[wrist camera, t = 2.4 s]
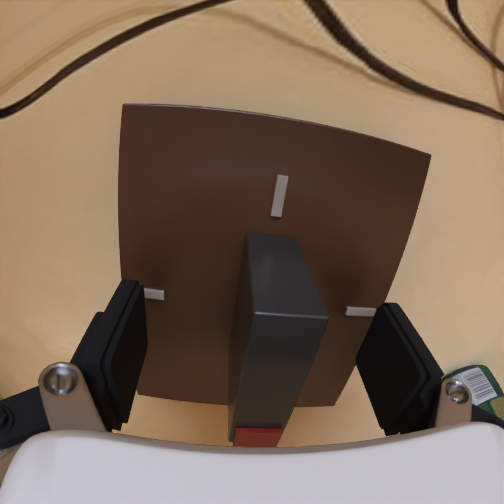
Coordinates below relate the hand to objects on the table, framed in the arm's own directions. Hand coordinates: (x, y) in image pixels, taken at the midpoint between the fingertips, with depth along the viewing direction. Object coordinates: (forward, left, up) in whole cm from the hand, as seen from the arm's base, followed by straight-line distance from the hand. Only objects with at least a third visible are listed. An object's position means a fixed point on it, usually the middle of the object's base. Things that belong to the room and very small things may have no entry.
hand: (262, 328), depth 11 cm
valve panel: (0, 0, -4) cm, 4 cm away
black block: (0, 0, -1) cm, 1 cm away
